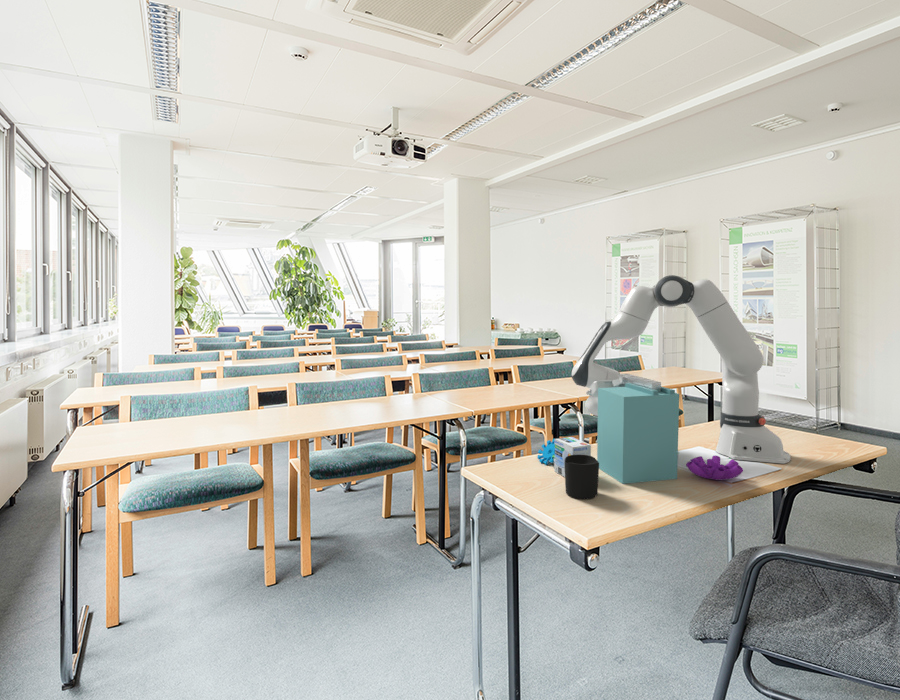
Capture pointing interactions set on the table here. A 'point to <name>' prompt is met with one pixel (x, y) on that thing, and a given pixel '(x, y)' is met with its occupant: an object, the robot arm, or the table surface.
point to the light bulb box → (568, 451)
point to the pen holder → (581, 476)
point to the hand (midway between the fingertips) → (629, 378)
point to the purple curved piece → (714, 468)
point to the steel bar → (641, 381)
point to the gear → (547, 452)
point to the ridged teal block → (638, 433)
